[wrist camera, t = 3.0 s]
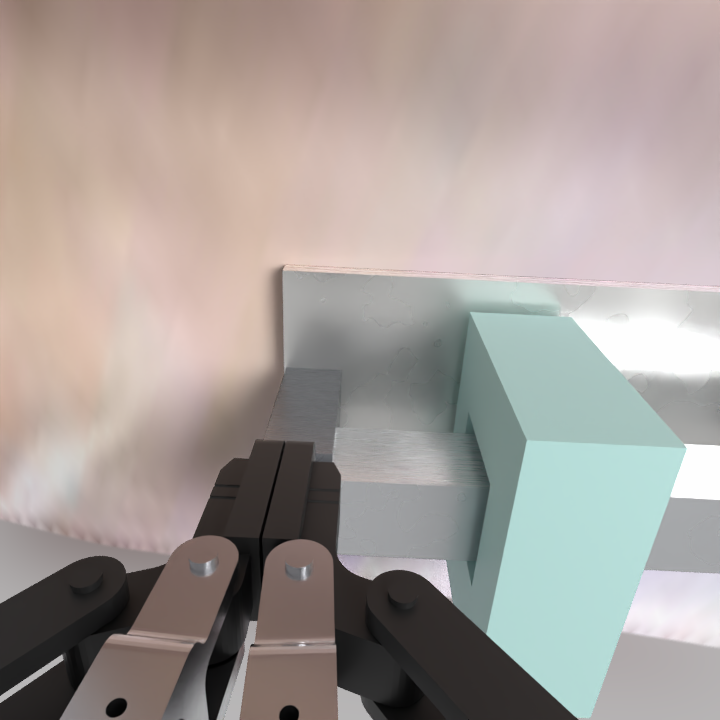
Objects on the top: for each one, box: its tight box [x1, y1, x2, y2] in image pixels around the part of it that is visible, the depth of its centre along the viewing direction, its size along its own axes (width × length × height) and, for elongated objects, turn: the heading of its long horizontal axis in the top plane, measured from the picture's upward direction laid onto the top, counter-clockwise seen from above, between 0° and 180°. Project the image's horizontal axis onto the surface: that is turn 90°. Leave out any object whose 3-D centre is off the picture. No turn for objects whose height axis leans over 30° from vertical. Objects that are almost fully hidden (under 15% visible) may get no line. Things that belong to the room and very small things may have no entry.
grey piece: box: [263, 265, 720, 573], centre depth 22 cm, size 13×29×8 cm, turn 87°
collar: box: [446, 312, 688, 718], centre depth 20 cm, size 11×4×9 cm, turn 177°
